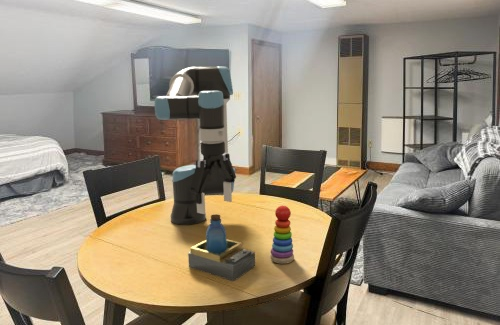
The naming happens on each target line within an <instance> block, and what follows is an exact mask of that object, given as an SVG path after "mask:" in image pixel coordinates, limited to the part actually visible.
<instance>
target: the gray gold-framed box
mask: <svg viewBox="0 0 500 325" xmlns="http://www.w3.org/2000/svg"><path fill="white" fill-rule="evenodd" d="M189 249H190V250H189V252H187V257H188V268H190V269H193V270H197V271H199V272H202V273H206V274H209V275H212V276H216V277H218V278H222V279H224V280H228V281H231V282H235V281H236V280H238V279H239V278H241V276H243V275H245V274H247V273H248V272H249V271H250V270H252V269H253V268H255V267H256V252H255V251H252V250H249V249H245V248H243V243H242V242H239V241H237V240H236V241H235V240H231V239H230V238H229V239H228V238H226V251H224V252H222V253H220V254H217V253H213V252H209V251H207V240H206V239H205V240H202V241H201V242H199V243H197V244H195V245H193V246H191V247H190V248H189Z"/></svg>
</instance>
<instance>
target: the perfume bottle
mask: <svg viewBox="0 0 500 325" xmlns="http://www.w3.org/2000/svg"><path fill="white" fill-rule="evenodd" d="M209 222H210V224H209V225H208V227H207V229H206V235H205V236H206V239H205V240H207V251H209V252H213V253H217V254H220V253H222V252H224V251H226V239H227V233H226V231H227V230H226V228H225V226H224V225H223V223H222V219H221V215H220V214H211V215H210V220H209Z"/></svg>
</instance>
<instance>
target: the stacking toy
mask: <svg viewBox="0 0 500 325" xmlns="http://www.w3.org/2000/svg"><path fill="white" fill-rule="evenodd" d="M274 212H275V214H274V215H275V217H276V218H277V219H276V220H275V223H274V224H275V226H274V227H273V230H274V231H273V238H272V244H271V246H272V248H271V249H270V256H269V257H270V260H271V261H272V262H274V263H276V264H282V265H283V264H285V265H286V264H291V263H292V262H293V261H294V260H295V254H294V249H293V248H294V244H293V238H292V237H293V235H292V229H291V221H290V217H291V215H292V214H291V212H292V211H291V210H290V208H289V207H288V206H286V205H280V206H278V207H276V209H275V211H274Z"/></svg>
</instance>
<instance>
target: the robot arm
mask: <svg viewBox="0 0 500 325" xmlns="http://www.w3.org/2000/svg"><path fill="white" fill-rule="evenodd" d="M230 70H231V69H229V67H227V66H221V65H220V66H219V65H215V66H212V65H211V66H190V67H186V68H183V69H181V70H178V71H177V72H175V74H174V75H173V76H172V77H171V79H170V80H169V84H168V86H169V88H168V91H167V92H166V95H162V96H161V95H160V96H156V97H155V99H154V115H155V117H156V119H158V120H161V121H162V120H163V121H164V120H165V121H172V120H175V121H176V120H199V140H200V141H201V142H200V153H201V154H200V155H202V157H203V158H202V160H200V159H197V160H195V164H189V165H184V166H179V167H177V168H175V169H174V170H173V172H172V180H171V182H172V191H173V192H172V193H173V204H172V205H173V206H172V209H171V214H170V221H171V223H173V224H176V225H182V226H184V225H185V226H189V225H196V224H199V223H202V222H204V221H205V220H206V219H207V214H206V198H205V196H206V197H207V196H223V201H224V202H227V203H228V202H229V203H232V202H233V198H232V197H233V193H234V188H235V182H236V178H237V176H236V168H235V167H233V164H232V162H231V158H230V156H231V155H230V153H229V148H228V147H229V146H228V144H229V143H228V112H227V110H228V108H227V106H228V105H227V104H228V102H230V100H231V96H233V95H234V90H233V82H232V77H231V75H232V74H231V71H230Z"/></svg>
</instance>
